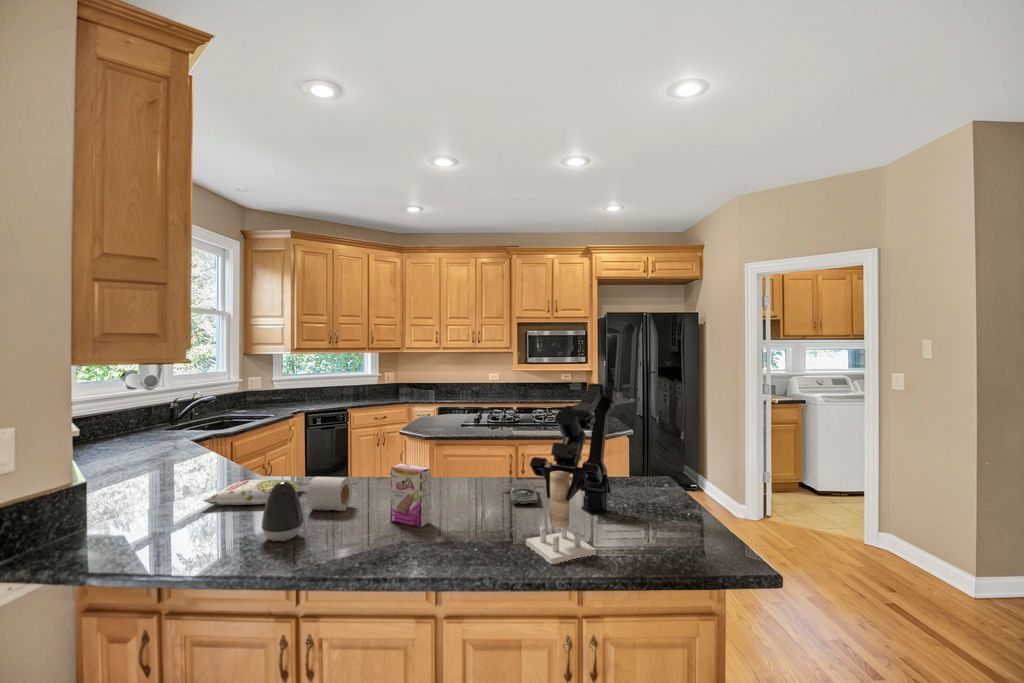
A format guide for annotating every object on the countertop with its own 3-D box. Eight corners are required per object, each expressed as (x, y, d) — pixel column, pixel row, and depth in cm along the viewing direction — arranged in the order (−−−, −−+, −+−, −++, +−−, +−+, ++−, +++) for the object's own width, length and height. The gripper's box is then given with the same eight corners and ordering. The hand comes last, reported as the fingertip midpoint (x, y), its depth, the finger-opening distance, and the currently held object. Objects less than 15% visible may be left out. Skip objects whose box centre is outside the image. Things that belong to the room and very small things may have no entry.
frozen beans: (284, 490, 158) (200, 491, 155) (283, 509, 157) (200, 510, 155) (305, 475, 178) (231, 476, 176) (304, 491, 178) (231, 492, 176)
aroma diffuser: (261, 548, 128) (262, 489, 128) (261, 534, 137) (261, 479, 137) (304, 541, 132) (305, 484, 132) (301, 528, 142) (301, 474, 142)
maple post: (555, 518, 132) (555, 469, 132) (572, 522, 130) (572, 472, 129) (546, 524, 128) (546, 474, 128) (563, 528, 125) (564, 477, 125)
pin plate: (567, 536, 137) (568, 518, 137) (595, 555, 126) (595, 535, 126) (525, 544, 132) (526, 525, 132) (551, 564, 120) (551, 544, 120)
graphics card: (501, 483, 178) (535, 482, 179) (502, 493, 178) (535, 492, 179) (503, 498, 161) (540, 497, 162) (503, 510, 161) (540, 508, 162)
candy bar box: (389, 522, 147) (389, 466, 147) (399, 517, 152) (400, 462, 151) (420, 528, 142) (421, 471, 142) (430, 523, 147) (431, 467, 147)
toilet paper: (351, 505, 162) (351, 474, 162) (337, 515, 152) (338, 482, 152) (322, 503, 163) (322, 473, 163) (306, 514, 153) (306, 481, 153)
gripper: (532, 427, 136) (515, 477, 126) (599, 433, 128) (586, 487, 118) (543, 450, 143) (527, 499, 133) (607, 457, 135) (595, 510, 125)
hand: (557, 499), depth 128 cm, fingers closed on maple post, 5 cm apart
